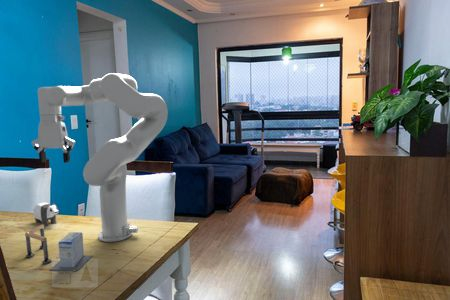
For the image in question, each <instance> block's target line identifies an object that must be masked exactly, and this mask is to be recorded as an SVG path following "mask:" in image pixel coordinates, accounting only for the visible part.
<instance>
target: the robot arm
mask: <svg viewBox="0 0 450 300" xmlns="http://www.w3.org/2000/svg"><path fill="white" fill-rule="evenodd" d="M37 97H38V98H37V99H38V108H39V118H40V120H39V121H40V122H39V124H38V133H37V134H38V135H37V138H36V139H34V140H32V141H31V145H32V146H33V149H34V150H35V151H36V152H37V153H38V157H39V162H40V163H41V164H43V163H46V162H47V152H46V149H61V150H62V151H63V153H62V158H63V163H64V164H67V163H69V162H71V161H70V160H71V158H70V157H71V151H72V150H73V149H74V146H75V144H76V141H75V140H74V139H71V138H70V137H69V134H68V130H67V126H66V124H65V122H63V120H65V119H66V118H65V117H66V116H64V115H62V107H72V106H75V107H79V106H87V105H92V104H93V105H94V104H100V103H105V102H111V103H113V105H115V106H116V107H117V108H119V109H120V110H121V111H122V112H124V114H126V115H128V116H129V117H132V118H134V119H139V121H137V122H136V123H134V125H133V126H132V127H131V128H130V129H129V130H128V132H126V133H125V134H124V135H123V136H121V137H117V138H112V139H110V140H107V141H106V142H104V143H103V144H102V145H101V146H100V147H99V149H97V151H96V152H95V153H94V154H93V155H92V156H91V157H90V159H89V160H88V161H87V162H86V164H85V166H84V168H83V172H82V175H83V179H84V181H85V182H86V183H87V185H90V186H91V187H99V204H100V205H99V206H100V219H101V220H100V221H101V231H100V232H99V233H98V236H97V237H98V240H99V241H101V242H106V243H114V242H119V241H123V240H126V239H128V238H130V237H131V236H132V235H133V234H135V233H136V234H137V233H138V232H139V228H138V226H137V225H131V222H130V221H128V212H127V211H128V210H127V208H128V207H127V190H126V187H127V186H126V185H127V184H126V181H127V173H128V168H127V167H128V166H127V164H128V163H129V164H130V163H132V162H134V161H135V160H137V159H138V158H139V156H140V155H141V154H142V153H143V152H144V151H145V149H147V147H148V146H149V145H150V144H151V142H153V141H154V139H155V138H156V137H157V136H158V135H159V134H160V133H161V131H162V130H163V129H164V127H165V125H166V123H167V120H168V114H169V113H168V112H169V111H168V106H167V104H166V101H165V100H164V98H162V96H160V95H158V94H155V93H149V92H148V93H146V92H145V93H143V92H139V91H138V83H137V81H136V79H135V78H134V77H132V76H131V75H128V74H122V73H115V72H113V73H112V72H111V73H107V74H105V75H104V76H103V77H102V78H96V79H92V80H91V81H90V83H89V84H87V85H81V86H71V85H67V86H66V85H64V86H63V85H57V86H55V85H54V86H41V87H39V88H38V89H37Z"/></svg>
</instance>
